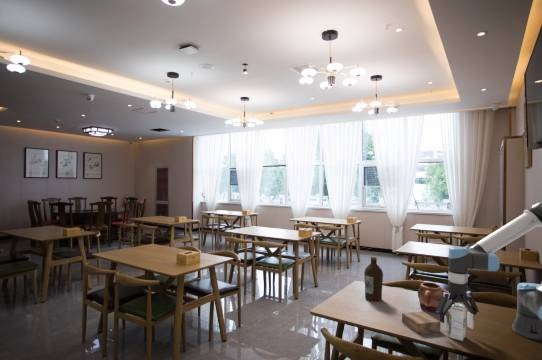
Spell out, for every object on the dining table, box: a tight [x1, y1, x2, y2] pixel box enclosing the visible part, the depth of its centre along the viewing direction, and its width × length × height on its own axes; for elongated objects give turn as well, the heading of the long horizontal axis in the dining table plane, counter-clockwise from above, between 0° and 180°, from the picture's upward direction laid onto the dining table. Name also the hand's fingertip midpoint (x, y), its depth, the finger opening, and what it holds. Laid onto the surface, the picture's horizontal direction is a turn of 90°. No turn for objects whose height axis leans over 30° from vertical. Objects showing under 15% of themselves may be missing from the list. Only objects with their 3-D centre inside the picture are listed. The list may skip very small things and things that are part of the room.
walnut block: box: [401, 311, 441, 335], centre depth 156 cm, size 12×12×5 cm
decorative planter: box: [417, 281, 443, 313], centre depth 177 cm, size 20×12×14 cm, turn 148°
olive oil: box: [363, 256, 384, 303], centre depth 193 cm, size 11×11×25 cm
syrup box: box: [448, 303, 467, 342], centre depth 146 cm, size 6×6×14 cm
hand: (457, 328), depth 146 cm, fingers open, 13 cm apart
